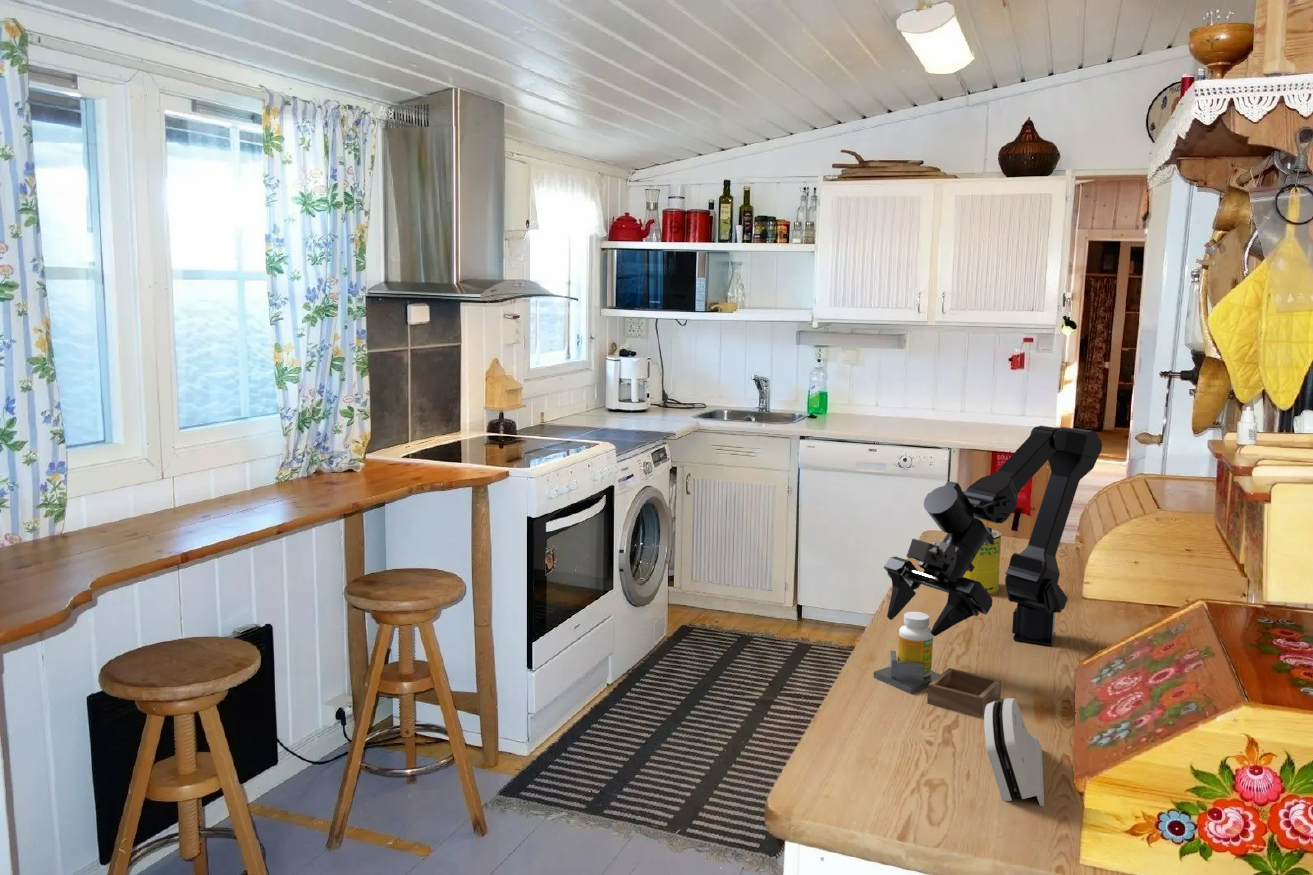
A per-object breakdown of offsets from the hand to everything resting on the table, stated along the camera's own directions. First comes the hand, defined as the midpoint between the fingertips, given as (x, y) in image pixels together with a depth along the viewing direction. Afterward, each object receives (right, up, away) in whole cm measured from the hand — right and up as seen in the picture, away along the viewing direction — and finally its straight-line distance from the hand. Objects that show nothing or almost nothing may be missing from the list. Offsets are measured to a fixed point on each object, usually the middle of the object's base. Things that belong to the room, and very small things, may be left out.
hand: (910, 626), depth 165 cm
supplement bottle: (+1, -8, +2) cm, 8 cm away
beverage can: (+26, -1, +49) cm, 55 cm away
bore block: (+7, -10, -7) cm, 14 cm away
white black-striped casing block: (+6, -14, -29) cm, 33 cm away
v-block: (0, -9, +2) cm, 9 cm away
